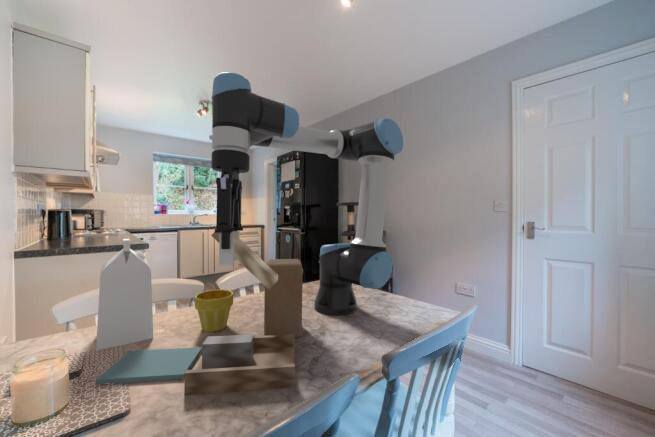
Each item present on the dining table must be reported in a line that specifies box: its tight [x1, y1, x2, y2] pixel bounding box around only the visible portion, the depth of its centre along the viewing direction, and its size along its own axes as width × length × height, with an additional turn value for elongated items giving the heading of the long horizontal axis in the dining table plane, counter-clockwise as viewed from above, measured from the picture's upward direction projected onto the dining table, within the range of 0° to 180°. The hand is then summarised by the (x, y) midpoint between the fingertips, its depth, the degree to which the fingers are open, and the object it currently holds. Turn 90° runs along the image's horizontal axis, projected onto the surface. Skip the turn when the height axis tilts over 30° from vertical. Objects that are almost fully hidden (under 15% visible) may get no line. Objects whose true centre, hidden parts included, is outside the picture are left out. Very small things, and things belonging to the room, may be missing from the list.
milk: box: [95, 238, 154, 352], centre depth 72 cm, size 12×12×26 cm
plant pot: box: [194, 288, 234, 333], centre depth 78 cm, size 10×10×10 cm
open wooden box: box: [183, 334, 296, 396], centre depth 57 cm, size 20×14×7 cm
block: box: [263, 258, 304, 339], centre depth 76 cm, size 10×10×20 cm
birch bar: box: [210, 231, 278, 289], centre depth 57 cm, size 16×5×2 cm
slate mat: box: [94, 346, 202, 386], centre depth 58 cm, size 16×11×1 cm
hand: (229, 262), depth 56 cm, fingers closed on birch bar, 5 cm apart
